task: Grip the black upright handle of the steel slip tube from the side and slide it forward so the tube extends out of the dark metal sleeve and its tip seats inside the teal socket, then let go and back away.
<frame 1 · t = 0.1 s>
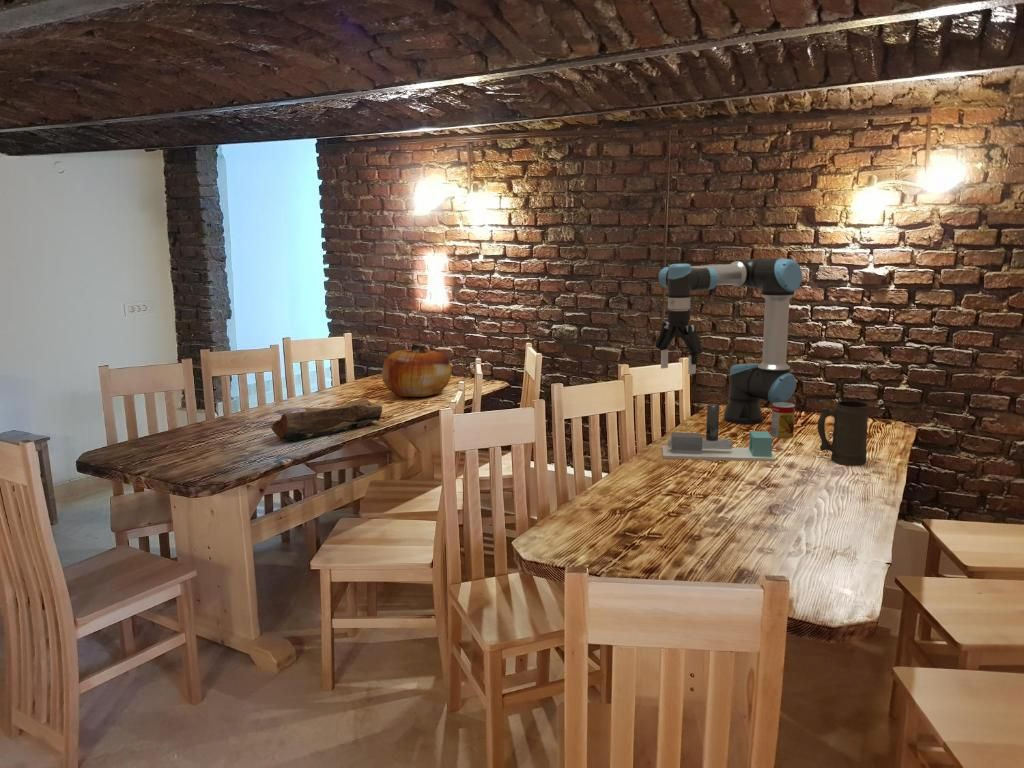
hand: (677, 370, 256), 28 cm above the table, tool pointing down, fingers open, 13 cm apart
beer stein: (840, 461, 244), on the table
pumpkin: (417, 395, 357), on the table
log: (328, 432, 293), on the table
canned food: (781, 436, 275), on the table
baseboard: (701, 454, 254), on the table
socket: (760, 443, 251), on the baseboard, point 4 cm above the table
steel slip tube: (700, 426, 253), point 10 cm above the table, slide at 0.0 cm
sleeve: (686, 443, 254), on the baseboard, point 4 cm above the table
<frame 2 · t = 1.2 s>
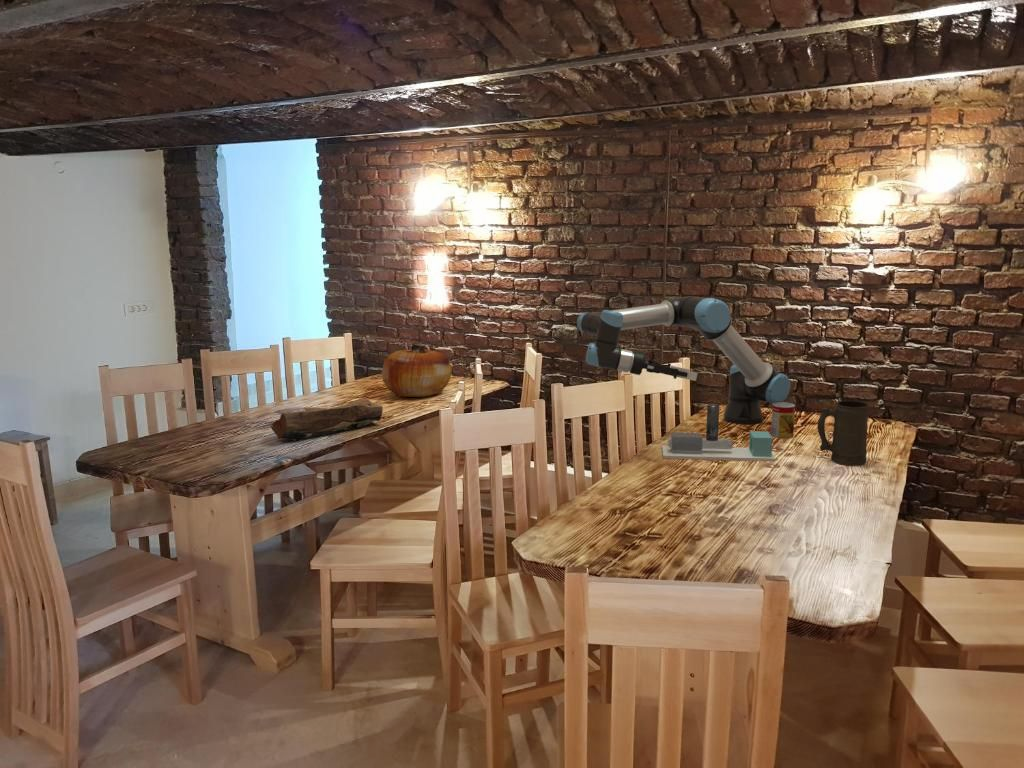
hand: (692, 375, 251), 27 cm above the table, tool horizontal, fingers open, 13 cm apart
nothing on the table moved.
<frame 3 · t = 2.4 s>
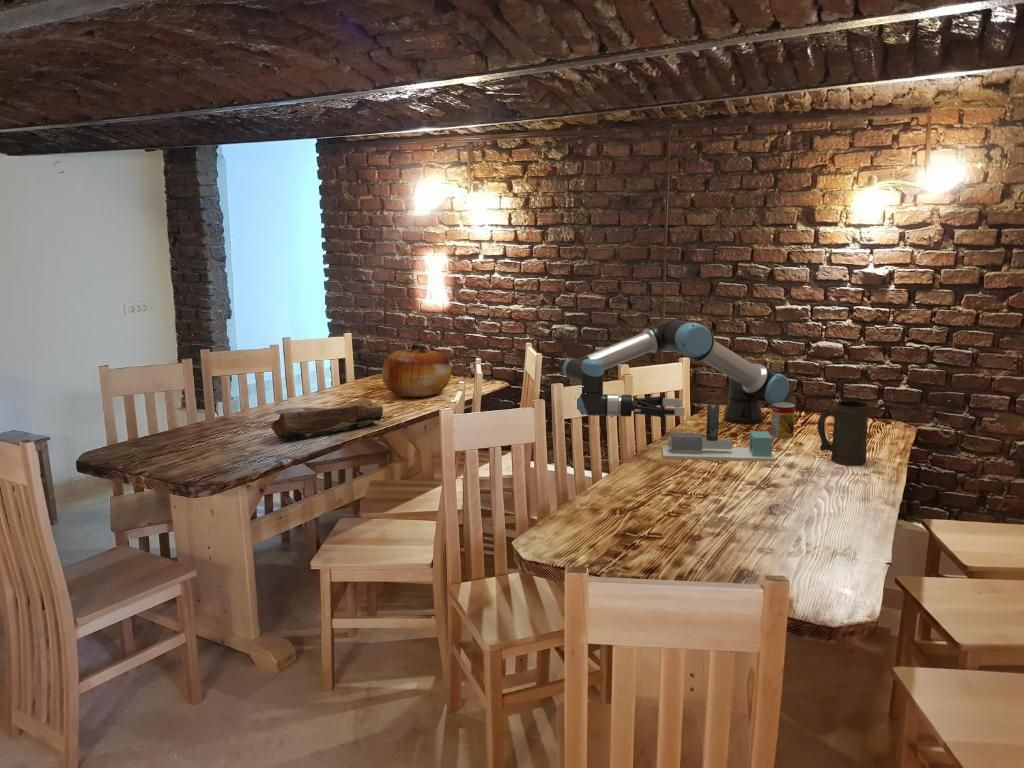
hand: (683, 407, 252), 17 cm above the table, tool horizontal, fingers open, 13 cm apart
nothing on the table moved.
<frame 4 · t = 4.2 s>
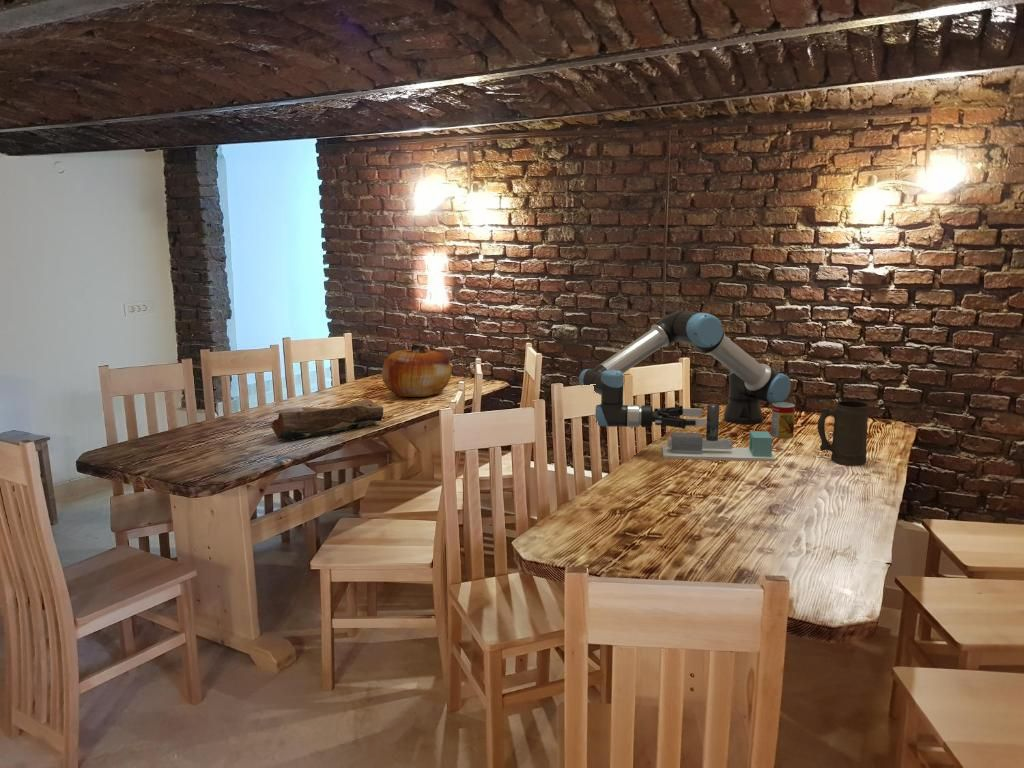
hand: (703, 417, 251), 13 cm above the table, tool horizontal, fingers open, 13 cm apart
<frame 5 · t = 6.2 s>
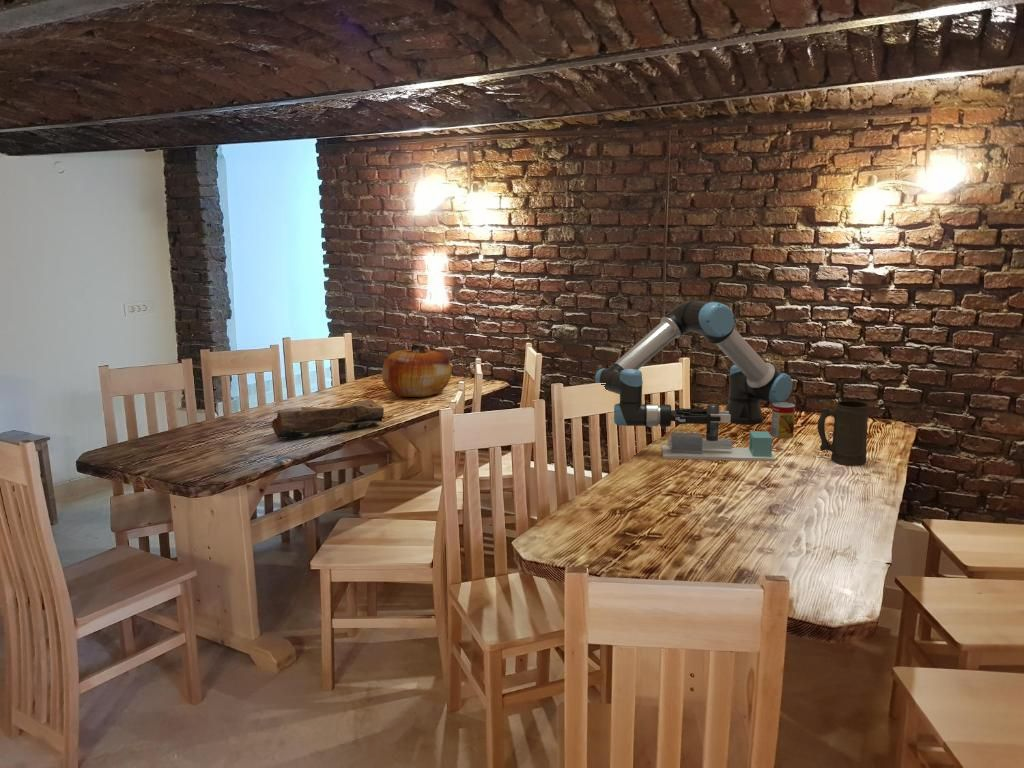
hand: (729, 416, 250), 13 cm above the table, tool horizontal, fingers closed on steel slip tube, 4 cm apart
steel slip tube: (700, 426, 253), point 10 cm above the table, slide at 0.0 cm, touching gripper
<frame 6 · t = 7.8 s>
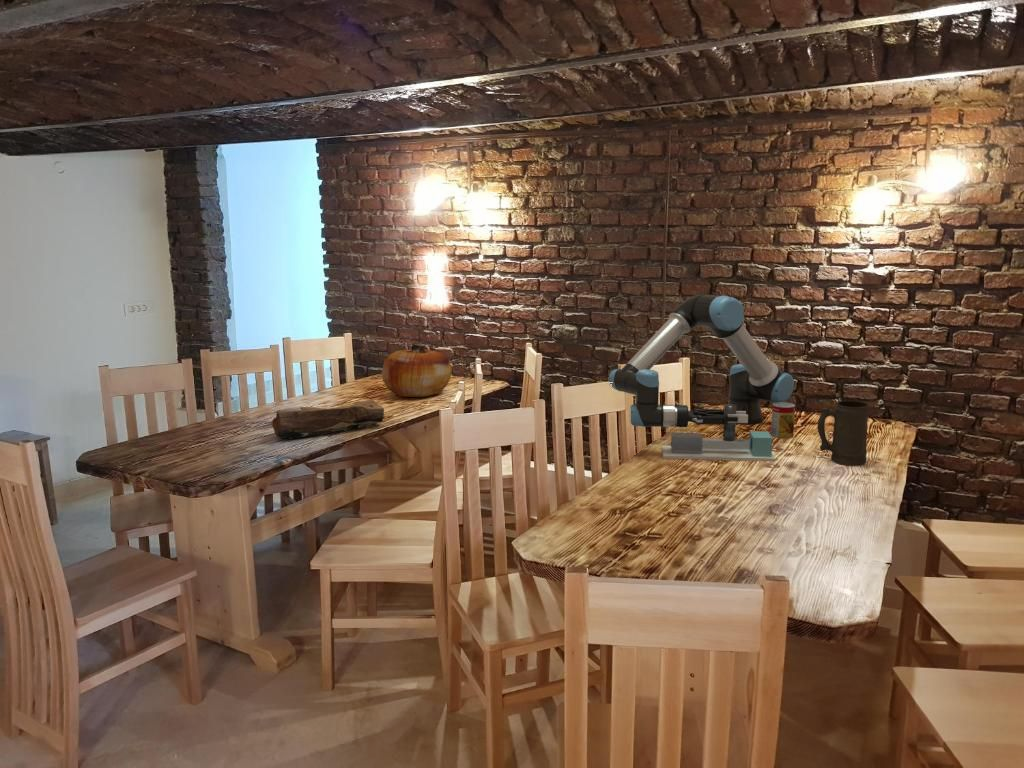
hand: (746, 417, 249), 14 cm above the table, tool horizontal, fingers closed on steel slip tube, 4 cm apart
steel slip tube: (717, 426, 252), point 10 cm above the table, slide at 5.6 cm, touching gripper
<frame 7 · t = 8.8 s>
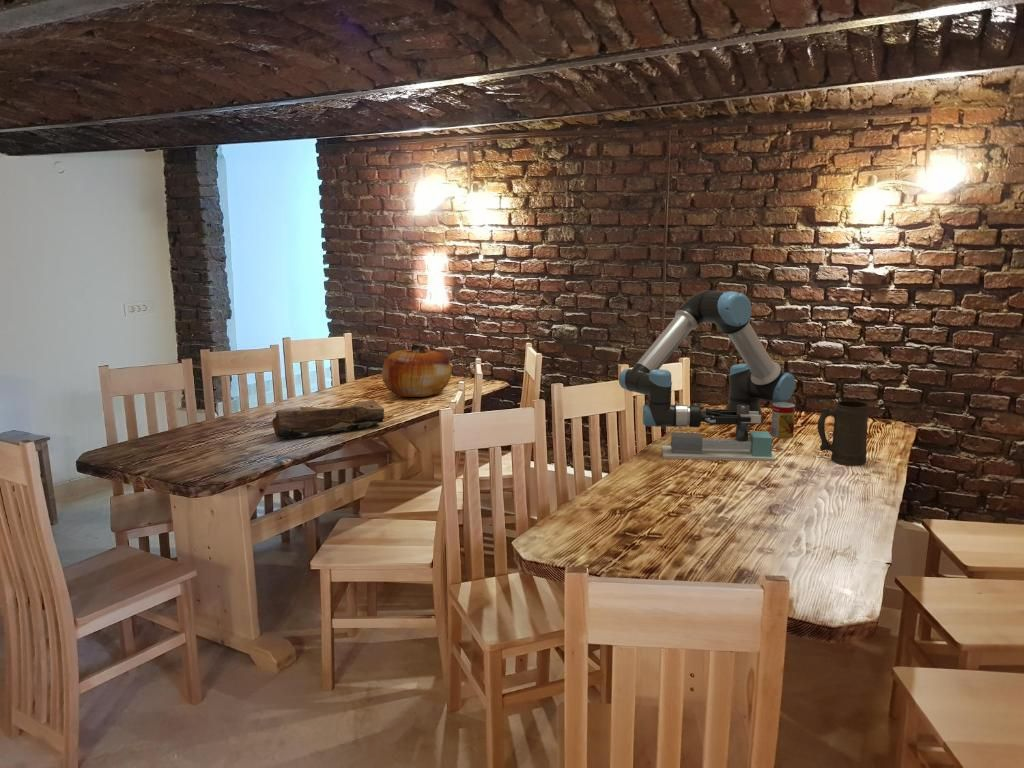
hand: (759, 417, 249), 13 cm above the table, tool horizontal, fingers closed on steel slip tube, 4 cm apart
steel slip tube: (730, 427, 251), point 10 cm above the table, slide at 9.8 cm, touching gripper
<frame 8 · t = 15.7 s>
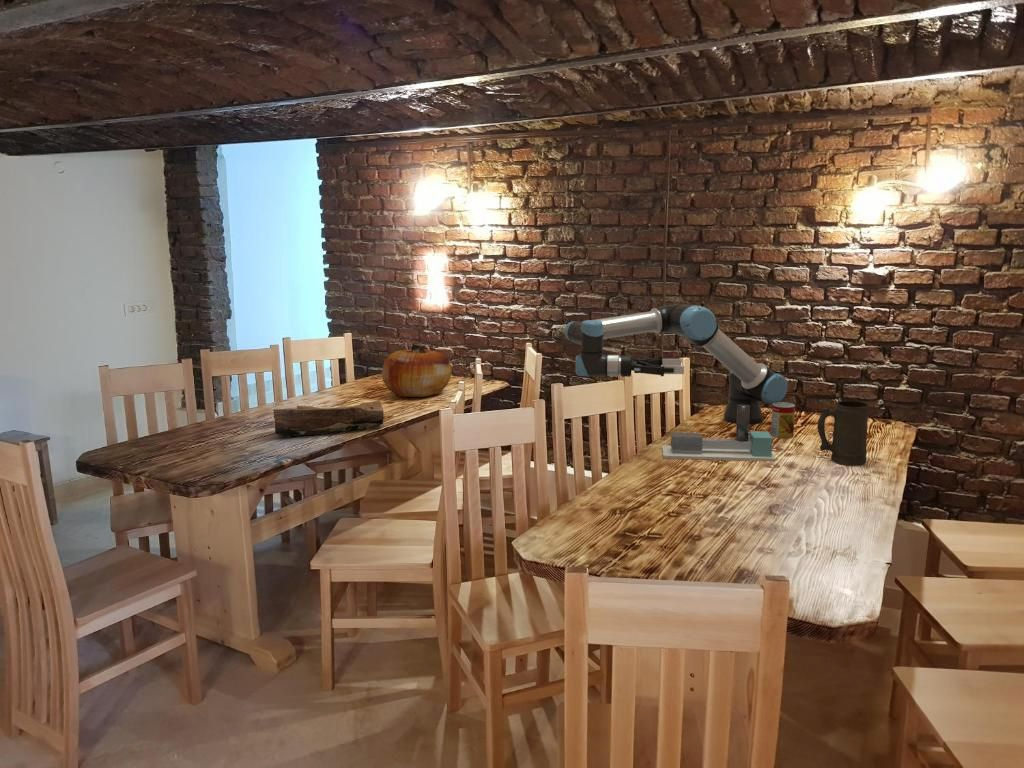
hand: (682, 366, 253), 30 cm above the table, tool horizontal, fingers open, 13 cm apart
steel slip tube: (730, 427, 251), point 10 cm above the table, slide at 9.9 cm
at the end: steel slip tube slide at 9.9 cm; the gripper is holding nothing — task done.
